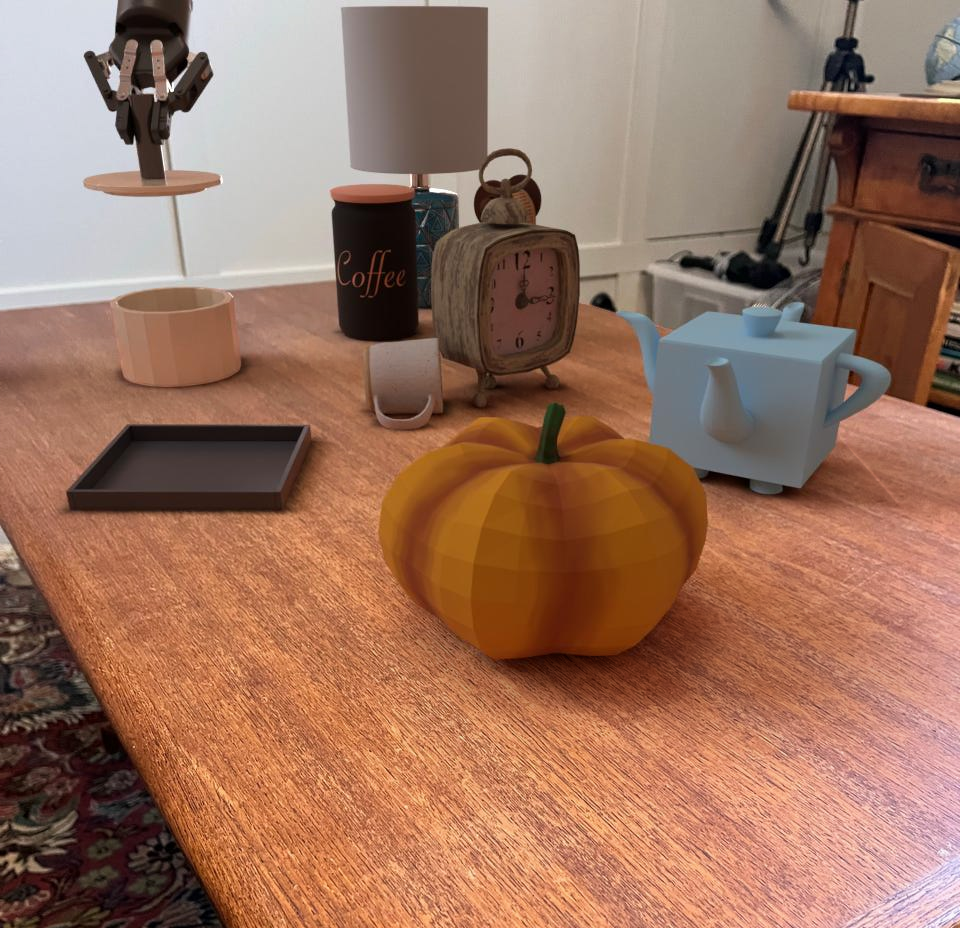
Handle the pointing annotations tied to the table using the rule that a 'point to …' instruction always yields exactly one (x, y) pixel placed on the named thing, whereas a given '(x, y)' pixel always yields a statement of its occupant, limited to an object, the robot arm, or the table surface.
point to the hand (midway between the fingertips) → (142, 138)
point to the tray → (194, 468)
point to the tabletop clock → (505, 290)
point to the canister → (176, 336)
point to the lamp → (418, 105)
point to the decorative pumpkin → (545, 535)
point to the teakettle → (753, 392)
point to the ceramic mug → (403, 381)
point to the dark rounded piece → (527, 196)
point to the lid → (150, 164)
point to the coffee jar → (375, 261)
